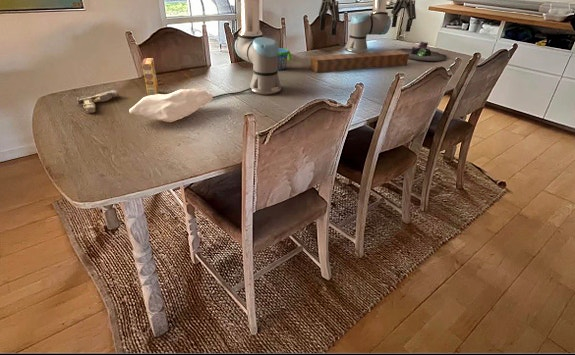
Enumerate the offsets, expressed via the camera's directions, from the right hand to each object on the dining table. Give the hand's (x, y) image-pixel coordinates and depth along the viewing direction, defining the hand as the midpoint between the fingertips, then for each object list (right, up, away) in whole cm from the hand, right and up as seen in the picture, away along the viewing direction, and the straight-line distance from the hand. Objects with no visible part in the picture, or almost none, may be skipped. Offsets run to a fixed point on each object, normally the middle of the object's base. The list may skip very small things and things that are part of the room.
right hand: (400, 29), depth 216 cm
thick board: (-23, -21, +3) cm, 32 cm away
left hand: (-45, -8, -16) cm, 49 cm away
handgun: (-147, -57, -61) cm, 169 cm away
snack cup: (-72, -25, -7) cm, 77 cm away
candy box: (-129, -50, -49) cm, 147 cm away
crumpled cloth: (-115, -62, -67) cm, 147 cm away
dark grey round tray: (+23, -5, +32) cm, 39 cm away
